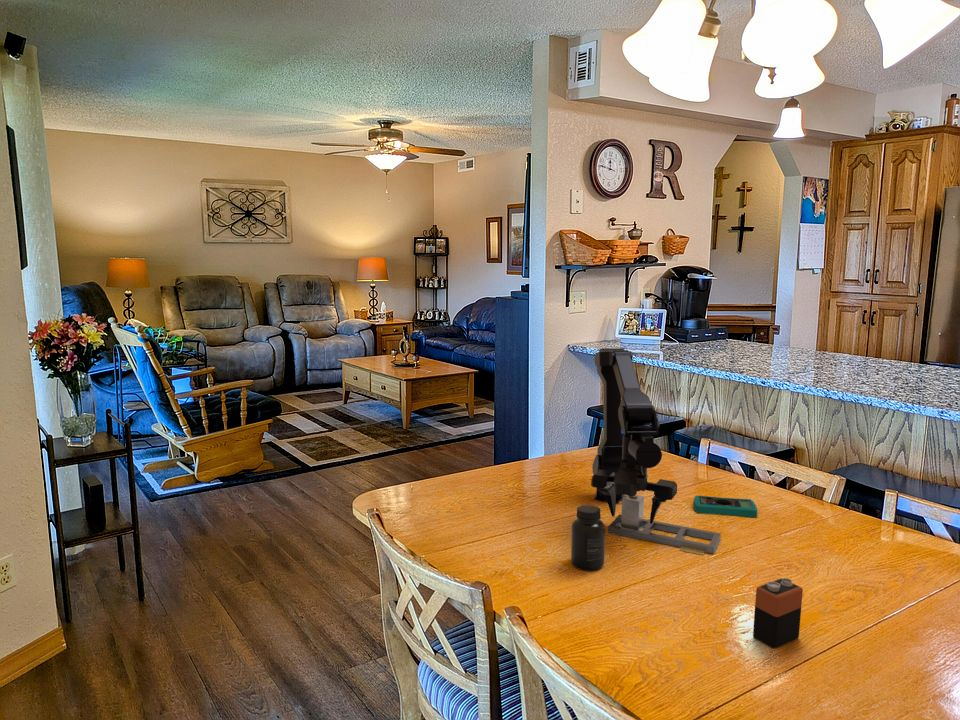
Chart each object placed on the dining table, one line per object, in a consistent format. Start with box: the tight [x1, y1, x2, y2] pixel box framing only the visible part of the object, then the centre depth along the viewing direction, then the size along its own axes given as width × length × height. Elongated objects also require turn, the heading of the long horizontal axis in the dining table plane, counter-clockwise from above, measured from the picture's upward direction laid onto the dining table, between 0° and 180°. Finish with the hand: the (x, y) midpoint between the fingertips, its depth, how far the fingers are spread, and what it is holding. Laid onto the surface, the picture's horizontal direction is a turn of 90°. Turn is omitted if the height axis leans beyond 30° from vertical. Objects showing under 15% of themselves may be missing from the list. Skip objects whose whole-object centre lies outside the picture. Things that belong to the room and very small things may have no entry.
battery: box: [752, 577, 804, 649], centre depth 114 cm, size 4×7×10 cm, turn 121°
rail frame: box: [607, 513, 722, 556], centre depth 155 cm, size 23×10×2 cm, turn 62°
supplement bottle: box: [570, 504, 606, 571], centre depth 140 cm, size 7×7×12 cm
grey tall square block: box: [620, 494, 645, 531], centre depth 158 cm, size 4×4×8 cm
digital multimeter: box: [692, 495, 758, 519], centre depth 172 cm, size 7×15×3 cm, turn 78°
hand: (632, 519), depth 159 cm, fingers open, 9 cm apart
